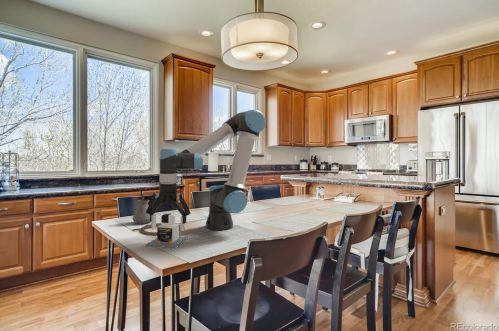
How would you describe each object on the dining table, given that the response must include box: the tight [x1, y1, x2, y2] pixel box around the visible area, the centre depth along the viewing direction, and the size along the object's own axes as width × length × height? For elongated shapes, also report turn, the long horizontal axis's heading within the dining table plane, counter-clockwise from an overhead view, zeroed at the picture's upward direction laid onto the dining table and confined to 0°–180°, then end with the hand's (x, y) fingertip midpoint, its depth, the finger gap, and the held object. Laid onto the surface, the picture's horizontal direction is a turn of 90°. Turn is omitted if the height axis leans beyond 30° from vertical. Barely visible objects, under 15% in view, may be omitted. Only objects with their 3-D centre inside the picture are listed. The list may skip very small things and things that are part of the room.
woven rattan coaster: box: [140, 222, 181, 236], centre depth 147 cm, size 20×20×1 cm
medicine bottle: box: [156, 213, 180, 243], centre depth 126 cm, size 7×7×12 cm
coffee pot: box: [132, 193, 151, 225], centre depth 166 cm, size 21×12×15 cm, turn 21°
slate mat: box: [145, 236, 189, 248], centre depth 126 cm, size 14×14×1 cm
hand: (168, 229), depth 126 cm, fingers open, 13 cm apart
